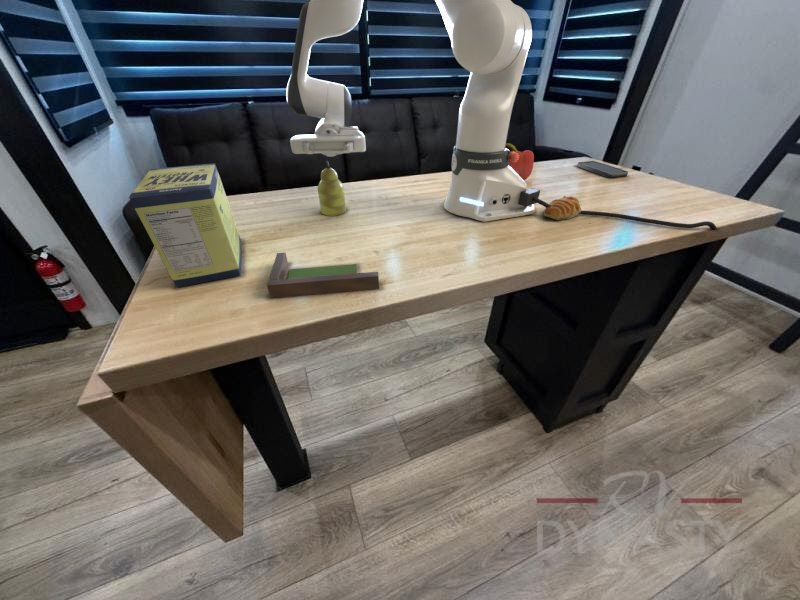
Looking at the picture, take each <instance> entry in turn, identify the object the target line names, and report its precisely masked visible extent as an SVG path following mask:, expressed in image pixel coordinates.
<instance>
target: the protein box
mask: <svg viewBox="0 0 800 600" xmlns="http://www.w3.org/2000/svg"><path fill="white" fill-rule="evenodd" d="M128 199H129V200H130V202H131V205H132V206H133V208H134V210H135V212H136V214H137V216H138V218H139V220H140V221H141V223H142V225H143V227H144V229H145V230H146V233H147V235H148V237H149V238H150V240H151V242H152V244H153V246H154V248H155V250H156V252H157V253H158V256H159V257H160V260H161V262H162V263H163V265H164V267H165V269H166V270H167V273H168V275H169V276H170V278H171V280H172V282H173V284H174V286H175V288H182V287H187V286H192V285H198V284H202V283H207V282H213V281H218V280H224V279H229V278H235V277H240V276H242V239H241V236H240V232H239V230H238V227H237V223H236V221H235V218H234V215H233V214H234V213H233V212H232V209H231V206H230V203H229V199H228V197H227V194H226V191H225V188H224V185H223V182H222V179H221V176H220V174H219V171H218V168H217V165H216V163H215V162H214V163H204V164H191V165H184V166H183V165H182V166H171V167H158V168H157V167H156V168H149V170H148V172H147V173H146V175H145V176H144V177H143V178H142V180H141V181H140V182H139V183H138V185H137V186H136V187H135V188H134V190H133V191H132V192H131V193H130V195H129V196H128Z"/></svg>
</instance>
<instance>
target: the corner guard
mask: <svg viewBox="0 0 800 600" xmlns="http://www.w3.org/2000/svg"><path fill="white" fill-rule="evenodd" d="M288 267H289V261H288V258H287V253H286V252H277V253H276V255H275V259H274V261H273V265H272V268H271V270H270V275H269V277H268V281H267V283H266V287H267V291H268V294H269V298H270V299H275V298H277V299H278V298H288V297H289V298H290V297H300V296H310V295H311V296H312V295H323V294H334V293H347V292H357V291H368V290H379V289H380V276H379V272H378V271H367V272H357V273H353V274H341V275H329V276H316V277H304V278H292V279H287V278H286V276H287V270H288Z"/></svg>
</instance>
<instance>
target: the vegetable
mask: <svg viewBox="0 0 800 600" xmlns="http://www.w3.org/2000/svg"><path fill="white" fill-rule="evenodd" d="M507 147H509V148H510V149H511V151H514V152H516V153H518V155H519V156H518V157H519V158H518V159H519V160H516V161H517V162H512V161H510V160H509V166H510V167H511V168H512V169H513V170H514V171H515V172H516V173H517V174H518V175H519V176H520V177H521V178H522V179H523V180H524V181H526V180H527V179H528V178H529V177H530V176H531V175H532V172H533V168H534V160H535V155H534V152H533V151H532V150H531V149H530V150H529V149H528V150H524V151H519V150H517V148H516V146H515V145H513V144H512V143H507V142H506V144H505V148H507Z"/></svg>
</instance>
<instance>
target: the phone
mask: <svg viewBox="0 0 800 600" xmlns="http://www.w3.org/2000/svg"><path fill="white" fill-rule="evenodd" d="M576 167H578V168H581V169H583V170H586V171H589V172H592V173H595V174H597V175H600V176H603V177H606V178H611V179H612V178H622V177H627V176H628V175H629V171H627V170H624V169H622V168H618V167H615V166H612V165H609V164H606V163H603V162H600V161H596V160H588V161H587V160H586V161H579V162H577V164H576Z"/></svg>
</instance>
